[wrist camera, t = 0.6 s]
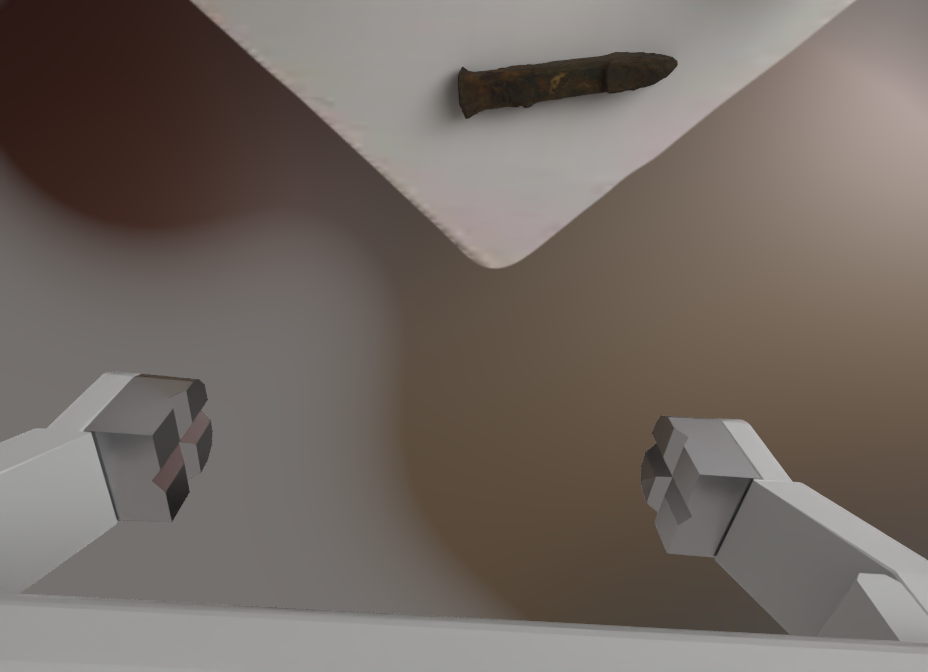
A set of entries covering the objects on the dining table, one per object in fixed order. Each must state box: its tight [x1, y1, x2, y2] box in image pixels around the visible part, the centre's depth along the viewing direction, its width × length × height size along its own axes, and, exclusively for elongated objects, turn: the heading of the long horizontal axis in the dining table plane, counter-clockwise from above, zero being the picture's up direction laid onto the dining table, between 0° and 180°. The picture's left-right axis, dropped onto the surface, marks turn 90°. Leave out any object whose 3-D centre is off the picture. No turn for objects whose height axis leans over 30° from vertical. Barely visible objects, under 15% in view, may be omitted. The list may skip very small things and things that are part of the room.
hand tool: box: [458, 52, 678, 119], centre depth 48 cm, size 19×4×5 cm, turn 97°
